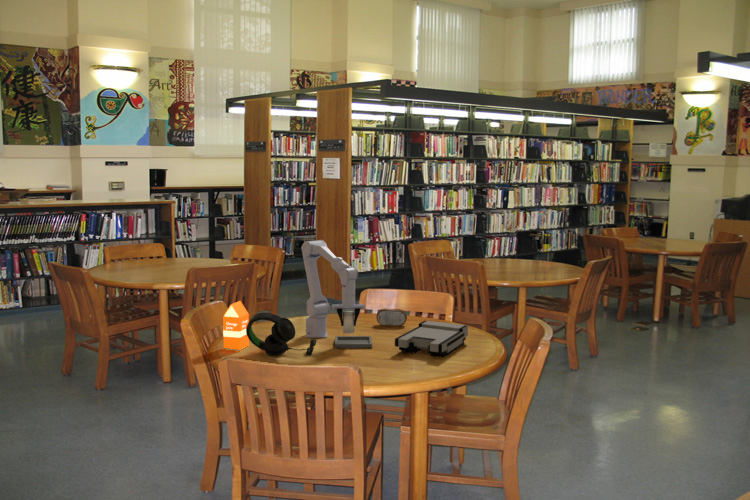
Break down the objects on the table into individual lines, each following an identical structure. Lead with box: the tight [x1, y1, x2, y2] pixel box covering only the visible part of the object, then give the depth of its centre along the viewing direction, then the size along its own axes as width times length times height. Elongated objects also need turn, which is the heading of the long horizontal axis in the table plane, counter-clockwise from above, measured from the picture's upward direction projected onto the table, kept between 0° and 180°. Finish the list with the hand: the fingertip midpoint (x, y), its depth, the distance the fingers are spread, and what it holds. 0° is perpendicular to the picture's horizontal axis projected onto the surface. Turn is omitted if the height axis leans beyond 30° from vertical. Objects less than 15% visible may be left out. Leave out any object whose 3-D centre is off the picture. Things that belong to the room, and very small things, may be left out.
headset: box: [246, 312, 317, 357], centre depth 275 cm, size 18×14×29 cm
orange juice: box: [222, 300, 250, 350], centre depth 284 cm, size 8×9×20 cm
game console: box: [394, 320, 469, 358], centre depth 286 cm, size 21×32×8 cm, turn 153°
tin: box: [375, 308, 408, 327], centre depth 328 cm, size 15×3×8 cm, turn 84°
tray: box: [334, 335, 373, 349], centre depth 293 cm, size 16×14×2 cm
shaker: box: [342, 310, 355, 334], centre depth 292 cm, size 5×5×9 cm
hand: (348, 325), depth 292 cm, fingers closed on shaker, 5 cm apart
